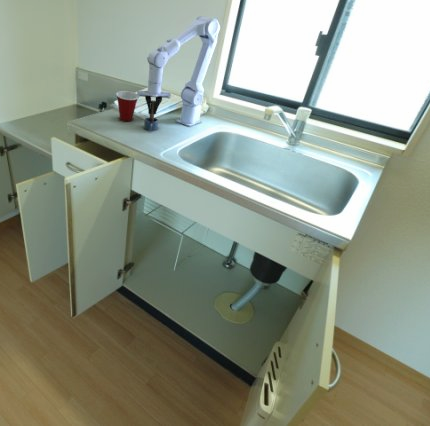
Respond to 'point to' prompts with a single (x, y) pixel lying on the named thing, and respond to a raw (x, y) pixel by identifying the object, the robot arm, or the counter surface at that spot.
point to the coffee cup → (150, 124)
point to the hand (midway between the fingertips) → (152, 113)
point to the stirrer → (152, 111)
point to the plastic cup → (126, 104)
